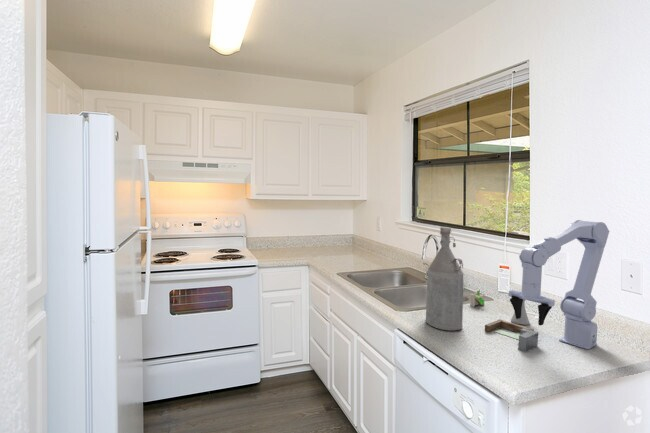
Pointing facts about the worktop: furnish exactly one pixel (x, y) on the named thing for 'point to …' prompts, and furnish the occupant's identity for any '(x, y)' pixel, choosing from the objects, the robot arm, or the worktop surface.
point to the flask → (524, 318)
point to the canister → (445, 287)
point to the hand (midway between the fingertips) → (529, 321)
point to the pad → (508, 334)
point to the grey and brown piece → (504, 326)
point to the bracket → (527, 340)
